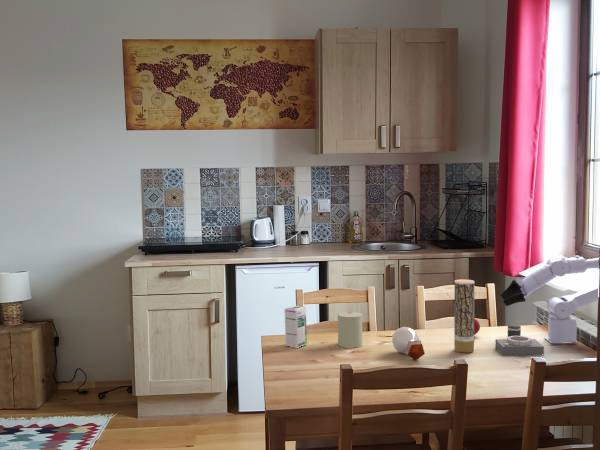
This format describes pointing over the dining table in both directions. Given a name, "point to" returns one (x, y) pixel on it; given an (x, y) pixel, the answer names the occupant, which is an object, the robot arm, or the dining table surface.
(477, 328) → the onion
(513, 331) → the lens
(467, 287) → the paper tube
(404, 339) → the potion bottle
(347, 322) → the can
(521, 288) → the robot arm
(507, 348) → the block
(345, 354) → the dining table surface
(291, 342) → the syrup box
